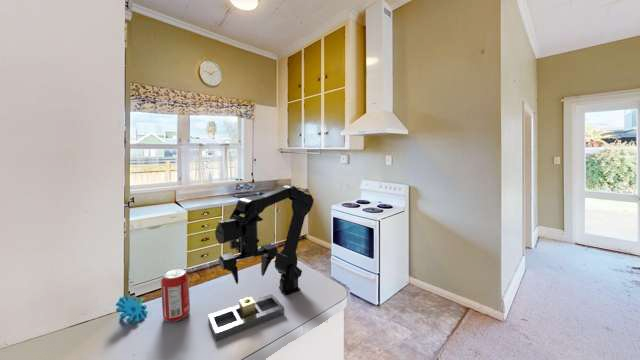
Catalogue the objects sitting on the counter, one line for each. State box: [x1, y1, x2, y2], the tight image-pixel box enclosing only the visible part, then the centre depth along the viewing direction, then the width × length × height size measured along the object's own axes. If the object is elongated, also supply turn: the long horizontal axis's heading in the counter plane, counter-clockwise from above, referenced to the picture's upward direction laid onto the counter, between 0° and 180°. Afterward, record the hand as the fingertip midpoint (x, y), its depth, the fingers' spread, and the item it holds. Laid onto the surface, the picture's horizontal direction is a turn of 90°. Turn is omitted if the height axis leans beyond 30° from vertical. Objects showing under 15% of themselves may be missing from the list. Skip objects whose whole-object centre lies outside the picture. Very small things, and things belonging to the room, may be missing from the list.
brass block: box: [238, 296, 255, 319], centre depth 84 cm, size 4×4×6 cm
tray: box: [208, 293, 285, 342], centre depth 84 cm, size 22×10×2 cm, turn 125°
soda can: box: [160, 268, 191, 322], centre depth 84 cm, size 8×8×15 cm
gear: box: [115, 294, 149, 324], centre depth 83 cm, size 11×6×10 cm
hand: (250, 279), depth 88 cm, fingers open, 9 cm apart
